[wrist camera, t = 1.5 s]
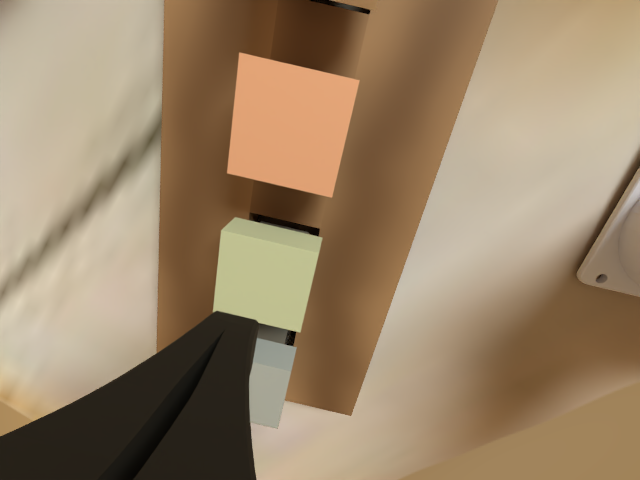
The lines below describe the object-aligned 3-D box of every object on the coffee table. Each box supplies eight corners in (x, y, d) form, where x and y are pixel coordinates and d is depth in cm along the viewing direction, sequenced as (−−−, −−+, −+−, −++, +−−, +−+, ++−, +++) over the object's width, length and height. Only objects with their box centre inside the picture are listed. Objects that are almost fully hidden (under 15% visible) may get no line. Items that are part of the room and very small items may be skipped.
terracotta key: (357, 87, 13) (359, 80, 10) (336, 177, 15) (332, 197, 11) (267, 66, 13) (239, 52, 10) (255, 158, 15) (226, 173, 12)
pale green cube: (326, 222, 16) (318, 252, 12) (310, 289, 17) (300, 332, 14) (248, 204, 16) (221, 230, 12) (239, 272, 17) (212, 311, 14)
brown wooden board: (521, -112, 12) (552, -152, 10) (351, 389, 21) (351, 415, 20) (198, -186, 12) (169, -241, 10) (173, 347, 21) (156, 369, 20)
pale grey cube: (302, 322, 18) (291, 371, 15) (290, 374, 19) (277, 429, 16) (235, 306, 18) (209, 351, 15) (228, 359, 19) (202, 411, 16)
